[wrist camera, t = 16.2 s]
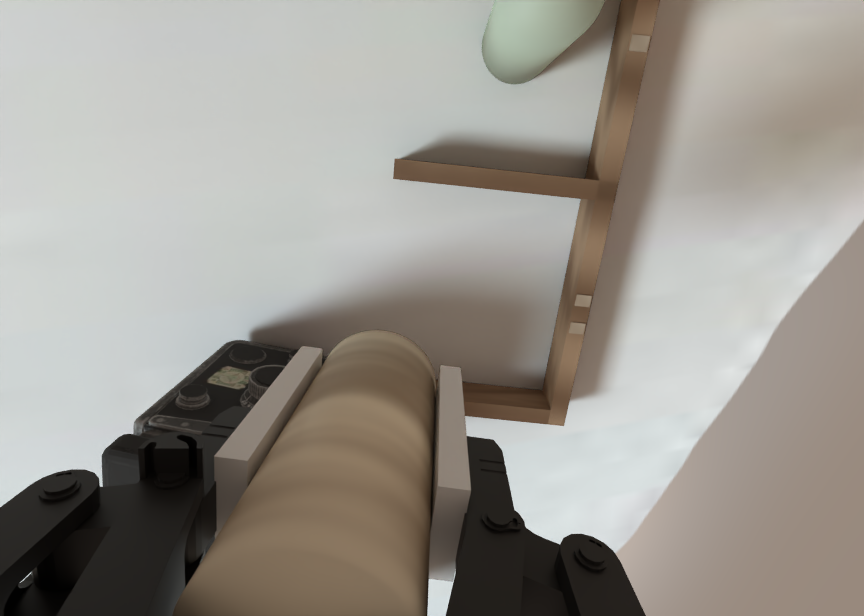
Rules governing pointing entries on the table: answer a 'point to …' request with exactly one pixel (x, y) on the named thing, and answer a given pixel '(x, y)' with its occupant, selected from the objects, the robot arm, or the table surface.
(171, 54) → the table surface
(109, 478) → the camera
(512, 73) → the sage post
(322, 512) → the beech post
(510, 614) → the robot arm
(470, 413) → the rack
